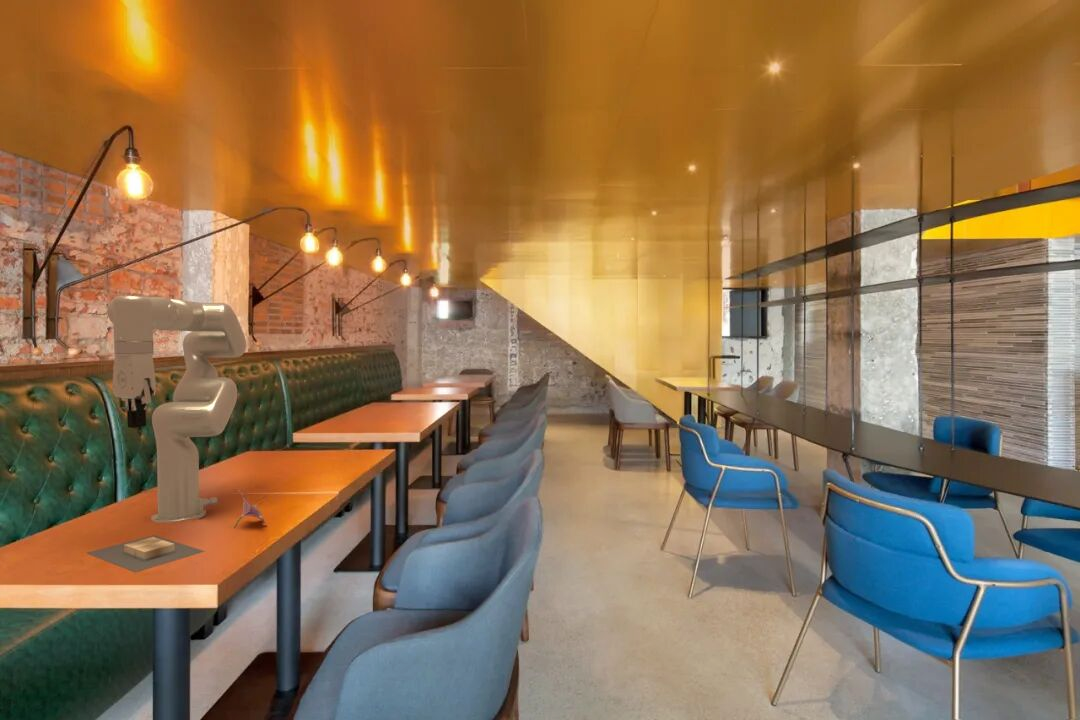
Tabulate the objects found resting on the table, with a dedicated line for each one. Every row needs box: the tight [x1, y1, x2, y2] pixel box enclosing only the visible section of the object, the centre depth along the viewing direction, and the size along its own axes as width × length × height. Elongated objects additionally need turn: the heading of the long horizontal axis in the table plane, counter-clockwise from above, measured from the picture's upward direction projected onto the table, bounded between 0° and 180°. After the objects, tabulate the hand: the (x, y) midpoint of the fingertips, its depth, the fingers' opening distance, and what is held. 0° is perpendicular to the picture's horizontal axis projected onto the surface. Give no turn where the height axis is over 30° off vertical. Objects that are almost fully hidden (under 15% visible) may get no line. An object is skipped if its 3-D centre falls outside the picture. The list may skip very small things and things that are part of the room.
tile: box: [124, 537, 175, 561], centre depth 127 cm, size 6×2×9 cm
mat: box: [86, 534, 206, 573], centre depth 128 cm, size 14×22×1 cm, turn 60°
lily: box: [233, 487, 268, 529], centre depth 148 cm, size 12×12×10 cm
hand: (137, 426), depth 135 cm, fingers closed
